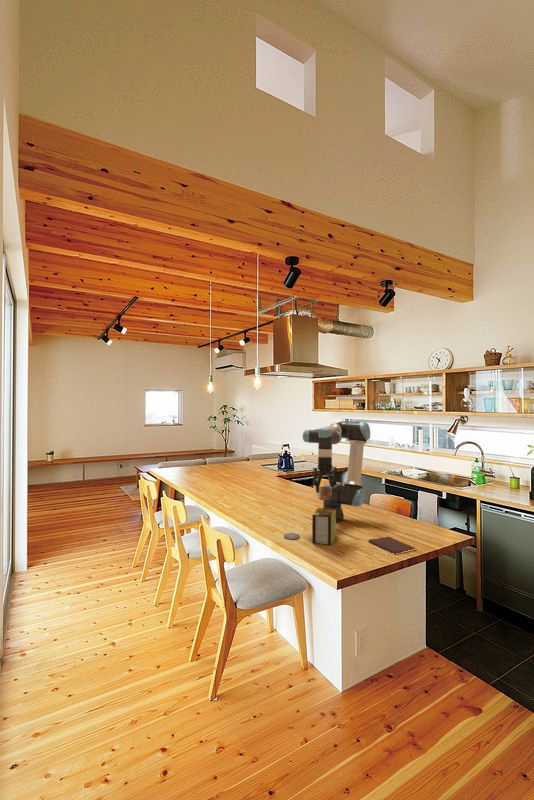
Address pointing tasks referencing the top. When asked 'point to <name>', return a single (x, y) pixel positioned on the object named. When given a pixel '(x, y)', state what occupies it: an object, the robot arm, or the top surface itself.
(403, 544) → the notebook
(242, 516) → the top surface
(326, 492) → the walnut block
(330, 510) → the protein box
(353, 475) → the robot arm
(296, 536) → the slate coaster
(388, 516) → the top surface
